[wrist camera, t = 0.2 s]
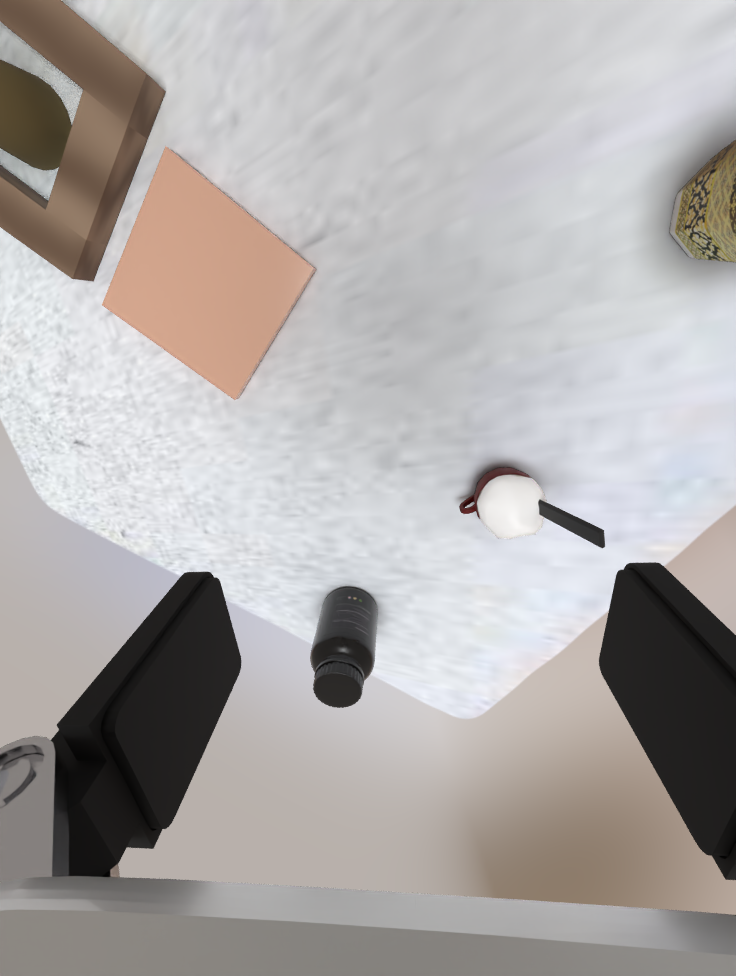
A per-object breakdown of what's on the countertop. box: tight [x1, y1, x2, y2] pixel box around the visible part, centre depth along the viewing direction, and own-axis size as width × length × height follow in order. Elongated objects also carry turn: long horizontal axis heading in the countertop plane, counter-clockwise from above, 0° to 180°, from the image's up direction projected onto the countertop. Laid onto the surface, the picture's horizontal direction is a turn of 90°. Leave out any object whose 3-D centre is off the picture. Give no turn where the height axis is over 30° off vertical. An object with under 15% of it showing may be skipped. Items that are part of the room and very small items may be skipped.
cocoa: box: [459, 467, 605, 548], centre depth 36 cm, size 10×6×12 cm, turn 84°
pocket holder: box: [0, 0, 165, 281], centre depth 30 cm, size 16×16×2 cm
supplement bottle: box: [310, 588, 377, 708], centre depth 43 cm, size 7×7×12 cm
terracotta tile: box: [102, 147, 316, 400], centre depth 35 cm, size 14×14×1 cm
